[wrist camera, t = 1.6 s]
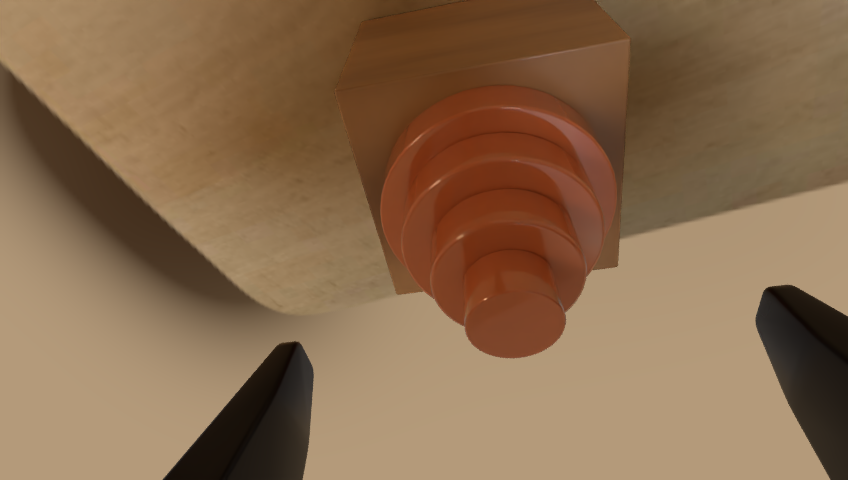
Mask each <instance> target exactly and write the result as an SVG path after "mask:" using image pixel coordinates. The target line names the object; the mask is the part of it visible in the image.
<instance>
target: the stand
mask: <svg viewBox="0 0 848 480" xmlns="http://www.w3.org/2000/svg"><path fill="white" fill-rule="evenodd" d="M630 46H631V38H630V37H629V36H628V35H627V34H626V33H625V32H624V31H623V30H622V29H621V28H620V26H619V25H618V24H617V23H616V22H615V21H614V20H613V19H612V18H611V17H610V16H609V15H608V14H607V13H606V12H605V11H604V10H603V9H602V8H601V7H600V6H599V5H598V4H597V3H596V2H595V1H594V0H468V1H462V2H457V3H452V4H447V5H442V6H437V7H432V8H427V9H422V10H417V11H412V12H407V13H402V14H397V15H392V16H387V17H382V18H377V19H372V20H367V21H362V22H361V25H360V27H359V30H358V32H357V35H356V38H355V40H354V43H353V45H352V48H351V50H350V53H349V55H348V58H347V61H346V63H345V66H344V68H343V71H342V73H341V76H340V78H339V81H338V84H337V86H336V89H335V92H334V94H335V97H336V100H337V103H338V106H339V110H340V113H341V116H342V119H343V123H344V126H345V129H346V132H347V136H348V139H349V142H350V145H351V148H352V152H353V155H354V158H355V161H356V165H357V168H358V171H359V174H360V178H361V181H362V184H363V187H364V190H365V194H366V197H367V200H368V203H369V207H370V210H371V213H372V216H373V220H374V223H375V226H376V229H377V232H378V236H379V239H380V242H381V245H382V249H383V252H384V255H385V258H386V262H387V265H388V268H389V271H390V274H391V278H392V281H393V284H394V287H395V291H396V293H397V294H398V295H399V294H407V293H415V292H423V290H422V289H421V288H420V287H419V286H418V284H417V283H416V282H415V281H414V279H413V278H412V276H411V275H410V273H409V271H408V269H407V268H406V267H405V266H404V265H403V264H402V263H401V262H400V261H399V260H398V258H397V257H396V256H395V254H394V253H393V251H392V249H391V248H390V246H389V244H388V242H387V240H386V237H385V234H384V232H383V228H382V223H381V215H380V203H381V193H382V187H383V180H384V173H385V169H386V165H387V161H388V158H389V156H390V153H391V151H392V149H393V146H394V145H395V143H396V141H397V140H398V138H399V137H400V135H401V134H402V132H403V131H404V130H405V129H406V128H407V126H408V125H409V124H410V123H411V122H412V121H413V120H414V119H415V118H416V117H418V116H419V115H420V114H421V113H422V112H424V111H425V110H426V109H428V108H429V107H431V106H432V105H433V104H435V103H437V102H439V101H441V100H443V99H445V98H447V97H449V96H451V95H454V94H457V93H459V92H462V91H465V90H469V89H473V88H478V87H484V86H493V85H514V86H521V87H528V88H532V89H535V90H539V91H542V92H545V93H548V94H550V95H552V96H554V97H557V98H559V99H560V100H562V101H563V102H565V103H567V104H568V105H570V106H571V107H572V108H574V109H575V110H576V111H577V112H578V113H579V114H581V115H582V116H583V118H584V119H585V120H586V121H587V122H588V124H589V125H590V126H591V127H592V129H593V131H594V132H595V134H596V136H597V138H598V139H599V141H600V143H601V145H602V147H603V149H604V150H605V152H606V154H607V156H608V158H609V160H610V162H611V165H612V168H613V170H614V174H615V178H616V183H617V203H616V211H615V214H614V218H613V221H612V224H611V227H610V229H609V231H608V233H607V235H606V237H605V239H604V244H603V247H602V251H601V254H600V256H599V258H598V260H597V263H596V264H595V266H594V267H593V269H592V270H597V269H605V268H613V267H617V266H618V255H619V238H620V220H621V203H622V185H623V168H624V150H625V133H626V116H627V98H628V81H629V63H630Z"/></svg>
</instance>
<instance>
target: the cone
mask: <svg viewBox="0 0 848 480" xmlns="http://www.w3.org/2000/svg"><path fill="white" fill-rule="evenodd" d="M616 203H617V183H616V178H615V174H614V170H613V168H612V165H611V162H610V160H609V158H608V156H607V154H606V152H605V150H604V149H603V147H602V145H601V143H600V141H599V139H598V138H597V136H596V134H595V132H594V131H593V129H592V127H591V126H590V125H589V124H588V122H587V121H586V120H585V119H584V118H583V116H582V115H581V114H579V113H578V112H577V111H576V110H575V109H574V108H572V107H571V106H570V105H568V104H567V103H565V102H563V101H562V100H560V99H559V98H557V97H554V96H552V95H550V94H548V93H545V92H542V91H539V90H535V89H532V88H528V87H521V86H514V85H493V86H484V87H478V88H473V89H469V90H465V91H462V92H459V93H457V94H454V95H451V96H449V97H447V98H445V99H443V100H441V101H439V102H437V103H435V104H433V105H432V106H431V107H429V108H428V109H426V110H425V111H424V112H422V113H421V114H420V115H419V116H418V117H416V118H415V119H414V120H413V121H412V122H411V123H410V124H409V125H408V126H407V128H406V129H405V130H404V131H403V132H402V134H401V135H400V137H399V138H398V140H397V141H396V143H395V145H394V146H393V149H392V151H391V153H390V156H389V158H388V161H387V165H386V169H385V173H384V180H383V187H382V193H381V203H380V215H381V223H382V228H383V232H384V234H385V237H386V240H387V242H388V244H389V246H390V248H391V249H392V251H393V253H394V254H395V256H396V257H397V258H398V260H399V261H400V262H401V263H402V264H403V265H404V266H405V267H406V268H407V269H408V271H409V273H410V275H411V276H412V278H413V279H414V281H415V282H416V283H417V284H418V286H419V287H420V288H421V289H422V290H423V291H424V292H425V293H427V294H428V295H429V296H431V297H432V298H433V299H435V301H436V302H437V304H438V306H439V307H440V308H441V310H442V311H443V312H444V313H445V314H446V315H447V316H448V317H449V318H451V319H452V320H453V321H455V322H457V323H459V324H460V325H462V326H464V327H465V332H466V335H467V337H468V339H469V340H470V342H471V343H472V344H473V345H474V346H475V347H476V348H477V349H479V350H480V351H482V352H484V353H486V354H489V355H492V356H495V357H500V358H521V357H527V356H531V355H534V354H537V353H539V352H542V351H544V350H545V349H547V348H548V347H550V346H551V345H553V344H554V343H555V342H556V341H557V340H558V339H559V338H560V336H561V335H562V333H563V331H564V328H565V324H566V315H565V312H567V311H568V310H569V309H570V308H571V307H572V306H573V304H574V303H575V302H576V301H577V299H578V297H579V296H580V295H581V292H582V290H583V288H584V284H585V281H586V277H587V276H588V275H589V273H590V272H591V271H592V269H593V267H594V266H595V264H596V263H597V260H598V258H599V256H600V254H601V251H602V247H603V244H604V239H605V237H606V235H607V233H608V231H609V229H610V227H611V224H612V221H613V218H614V214H615V211H616Z"/></svg>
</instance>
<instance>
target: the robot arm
mask: <svg viewBox="0 0 848 480" xmlns="http://www.w3.org/2000/svg"><path fill="white" fill-rule="evenodd" d="M756 327H757V330H758V333H759V335H760V337H761V340H762V342H763V345H764V347H765V349H766V352H767V354H768V356H769V359H770V361H771V364H772V366H773V369H774V371H775V373H776V376H777V378H778V381H779V383H780V385H781V388H782V390H783V393H784V395H785V397H786V399H787V401H788V404H789V406H790V407H791V409H792V411H793V413H794V415H795V417H796V418H797V421H798V422H799V424H800V426H801V428H802V429H803V431H804V433H805V435H806V437H807V438H808V440H809V442H810V444H811V446H812V447H813V449H814V451H815V453H816V454H817V456H818V458H819V460H820V462H821V463H822V465H823V467H824V469H825V470H826V472H827V474H828V476H829V478H830V480H848V316H846V315H844V314H843V313H841V312H839V311H837V310H835V309H834V308H832V307H830V306H828V305H827V304H825V303H823V302H822V301H820V300H818V299H816V298H815V297H813V296H811V295H809V294H807V293H806V292H804V291H802V290H800V289H799V288H797V287H795V286H792V285H781V286H772V287H768V288H766V289H765V290H764V292H763V295H762V298H761V301H760V305H759V308H758V311H757V315H756ZM313 378H314V374H313V367H312V365H311V363H310V361H309V359H308V357H307V355H306V353H305V351H304V349H303V347H302V345H301V344H300V343H299V342H296V341H294V342H286V343H281V344H279V345H277V346H276V347H275V349H274V350H273V351H272V352H271V353H270V354H269V356H268V357H267V358H266V359H265V360H264V362H263V363H262V364H261V365H260V366H259V367H258V369H257V370H256V371H255V372H254V373H253V374H252V376H251V377H250V378H249V379H248V380H247V381H246V383H245V384H244V385H243V386H242V387H241V388H240V390H239V391H238V392H237V393H236V394H235V396H234V397H233V398H232V399H231V400H230V401H229V403H228V404H227V405H226V406H225V407H224V408H223V410H222V411H221V412H220V413H219V414H218V416H217V417H216V418H215V419H214V420H213V421H212V422H211V424H210V425H209V426H208V427H207V428H206V430H205V431H204V432H203V433H202V434H201V435H200V437H199V438H198V439H197V440H196V441H195V443H194V444H193V445H192V446H191V447H190V448H189V449H188V451H187V452H186V453H185V454H184V455H183V456H182V458H181V459H180V460H179V461H178V462H177V463H176V465H175V466H174V467H173V468H172V469H171V471H170V472H169V473H168V474H167V475H166V476H165V478H164V479H163V480H302V479H303V474H304V469H305V463H306V458H307V452H308V445H309V435H310V419H311V406H312V392H313Z"/></svg>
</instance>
